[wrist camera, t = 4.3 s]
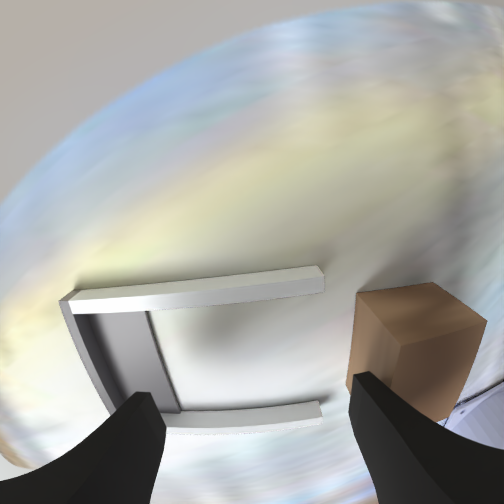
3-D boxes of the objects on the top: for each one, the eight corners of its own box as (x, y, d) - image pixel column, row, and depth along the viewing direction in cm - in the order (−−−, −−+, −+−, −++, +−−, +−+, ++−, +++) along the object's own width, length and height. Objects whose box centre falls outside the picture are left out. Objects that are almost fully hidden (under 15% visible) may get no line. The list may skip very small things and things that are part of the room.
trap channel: (316, 265, 11) (324, 276, 9) (317, 407, 13) (322, 424, 12) (72, 290, 11) (58, 301, 10) (125, 414, 13) (118, 429, 12)
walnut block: (432, 282, 11) (487, 320, 7) (413, 368, 12) (449, 416, 8) (356, 292, 11) (400, 345, 7) (345, 384, 12) (371, 444, 8)
